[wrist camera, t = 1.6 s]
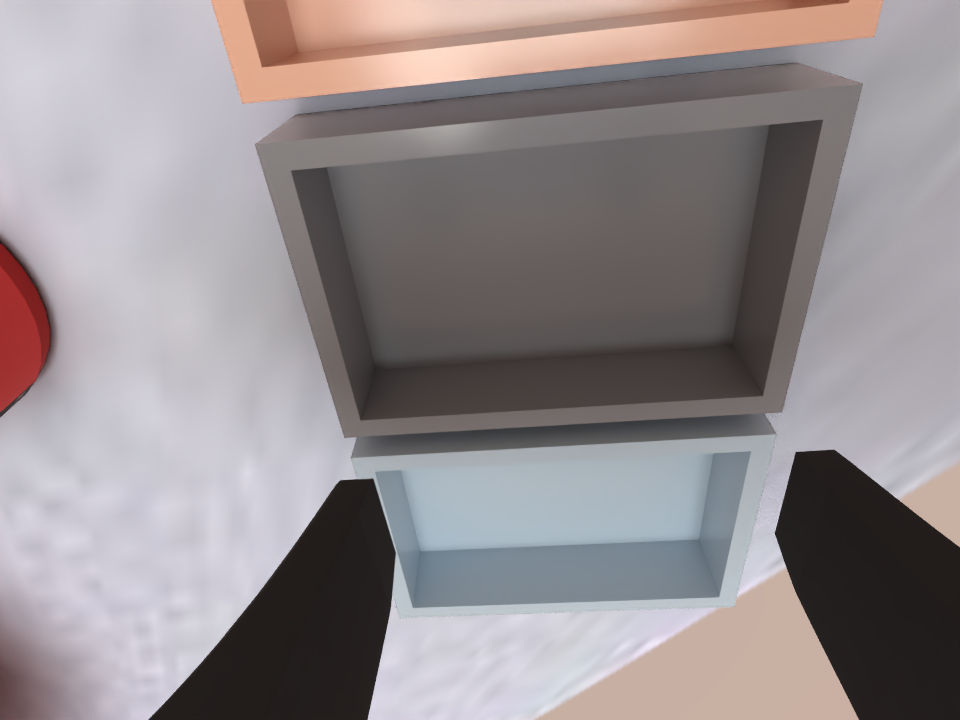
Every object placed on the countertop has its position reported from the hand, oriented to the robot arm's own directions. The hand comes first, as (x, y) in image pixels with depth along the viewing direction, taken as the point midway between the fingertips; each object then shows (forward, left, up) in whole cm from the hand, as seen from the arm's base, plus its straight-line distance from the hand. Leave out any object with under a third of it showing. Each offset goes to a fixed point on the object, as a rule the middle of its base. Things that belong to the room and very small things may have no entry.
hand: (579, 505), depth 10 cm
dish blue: (0, +8, -8) cm, 11 cm away
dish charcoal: (0, -1, -8) cm, 9 cm away
